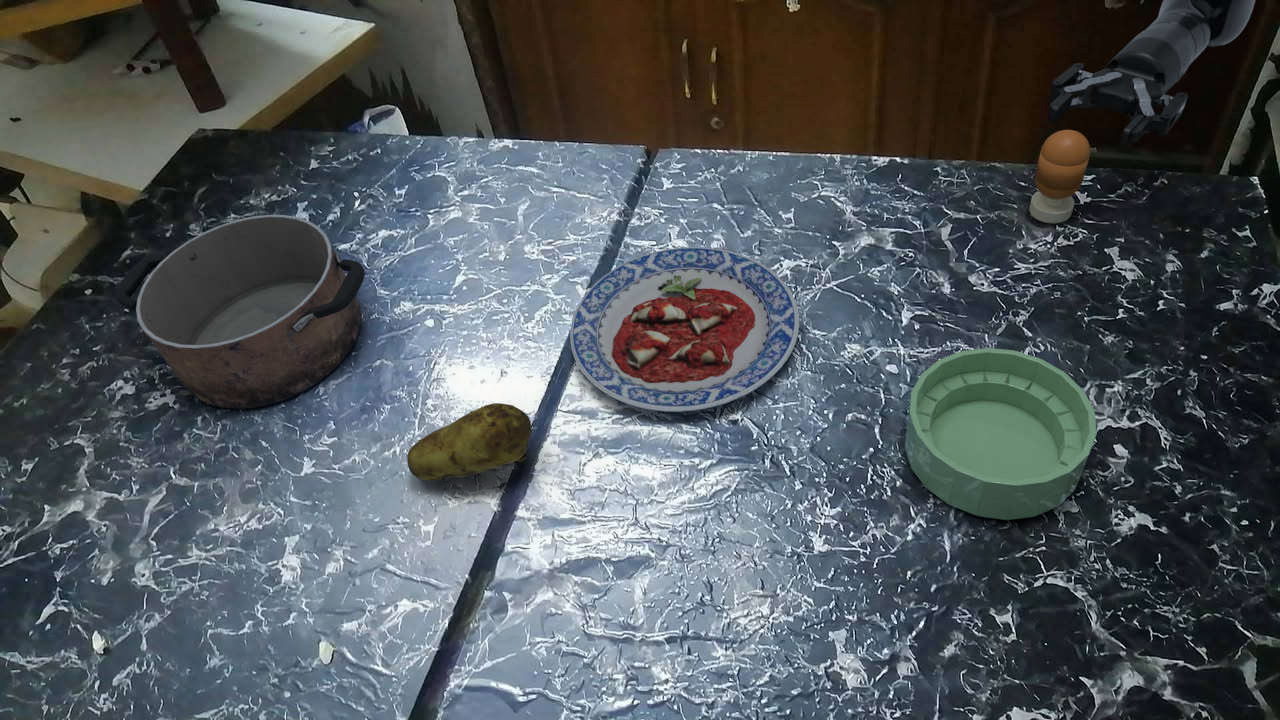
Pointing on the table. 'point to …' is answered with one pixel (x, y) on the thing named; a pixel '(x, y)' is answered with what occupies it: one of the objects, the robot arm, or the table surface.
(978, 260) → the table surface
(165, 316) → the cooking pot
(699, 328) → the ceramic plate
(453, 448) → the potato
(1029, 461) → the green round shallow dish
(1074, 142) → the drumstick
